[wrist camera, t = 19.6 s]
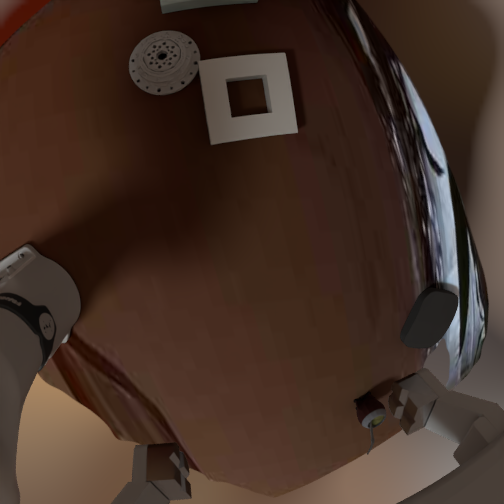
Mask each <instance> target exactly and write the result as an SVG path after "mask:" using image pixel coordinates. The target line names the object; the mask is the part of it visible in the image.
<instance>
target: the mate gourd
mask: <svg viewBox="0 0 504 504" xmlns="http://www.w3.org/2000/svg"><path fill="white" fill-rule="evenodd" d="M354 402H355V403H356V405H357V407H356V410H357V417H358V420H359V422H360V424H362V426H364V427H366V428H370V432H371V446H370V449H369V451H368V453H367V454H369V452H370V450H371V449H372V447H373V444H374V437H373V429H372V428H374V427H377V426H378V425H380V424H381V423H382V422H383V421H384V420H385V418H386V410H385V407H384V405H383V404H382V403H381V402H379V401H378V400H376V399H375V398H374V397H373V396H372V395H371V393H370V392H368V393H367V394H366V395H365V397H364V398H363V399H355V400H354Z"/></svg>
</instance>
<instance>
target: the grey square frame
mask: <svg viewBox="0 0 504 504" xmlns="http://www.w3.org/2000/svg"><path fill="white" fill-rule="evenodd" d="M198 67H199V69H198V70H199V77H200V83H201V90H202V96H203V102H204V109H205V115H206V121H207V127H208V133H209V139H210V145H214V144H219V143H225V142H231V141H237V140H244V139H251V138H258V137H265V136H273V135H281V134H290V133H298V129H297V122H296V115H295V109H294V102H293V96H292V89H291V83H290V77H289V71H288V65H287V60H286V54H285V53H269V54H254V55H242V56H233V57H224V58H216V59H209V60H202V61H198ZM259 78H262V79H263V85H264V91H265V97H266V104H267V110H268V113H265V114H256V115H249V116H241V117H234V118H232V117H231V111H230V105H229V98H228V92H227V86H226V82H231V81H239V80H248V79H259Z"/></svg>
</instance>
